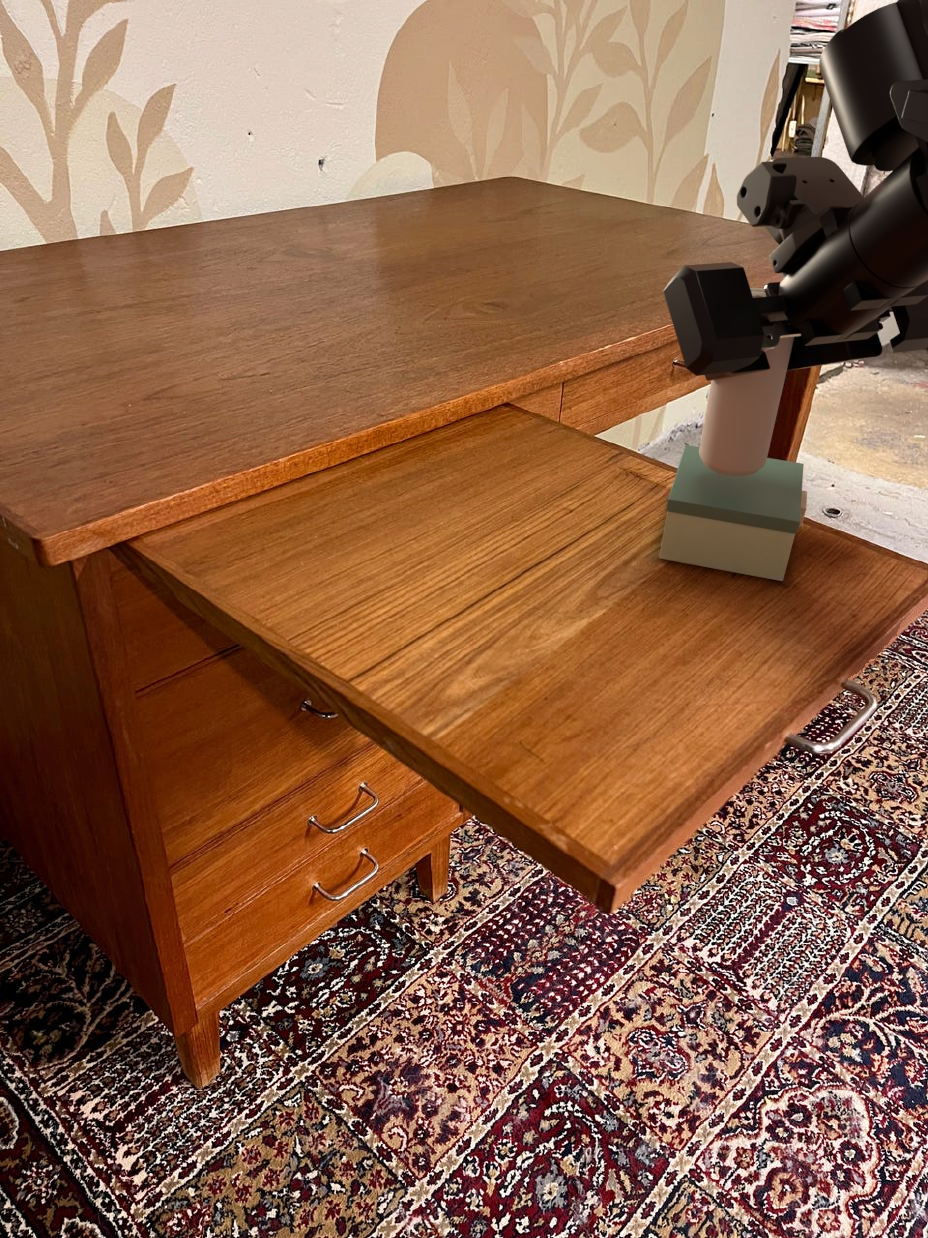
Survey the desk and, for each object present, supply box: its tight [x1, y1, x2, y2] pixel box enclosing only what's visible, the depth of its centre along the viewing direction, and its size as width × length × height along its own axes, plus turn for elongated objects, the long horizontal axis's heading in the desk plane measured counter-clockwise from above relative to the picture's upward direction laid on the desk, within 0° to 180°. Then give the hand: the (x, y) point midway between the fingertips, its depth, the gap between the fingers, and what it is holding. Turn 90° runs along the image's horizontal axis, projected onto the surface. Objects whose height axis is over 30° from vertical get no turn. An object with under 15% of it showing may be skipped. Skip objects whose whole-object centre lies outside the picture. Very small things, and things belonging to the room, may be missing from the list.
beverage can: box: [699, 287, 794, 476], centre depth 67 cm, size 5×5×12 cm
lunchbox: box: [658, 444, 808, 582], centre depth 74 cm, size 10×10×5 cm
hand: (737, 370), depth 68 cm, fingers closed on beverage can, 5 cm apart
